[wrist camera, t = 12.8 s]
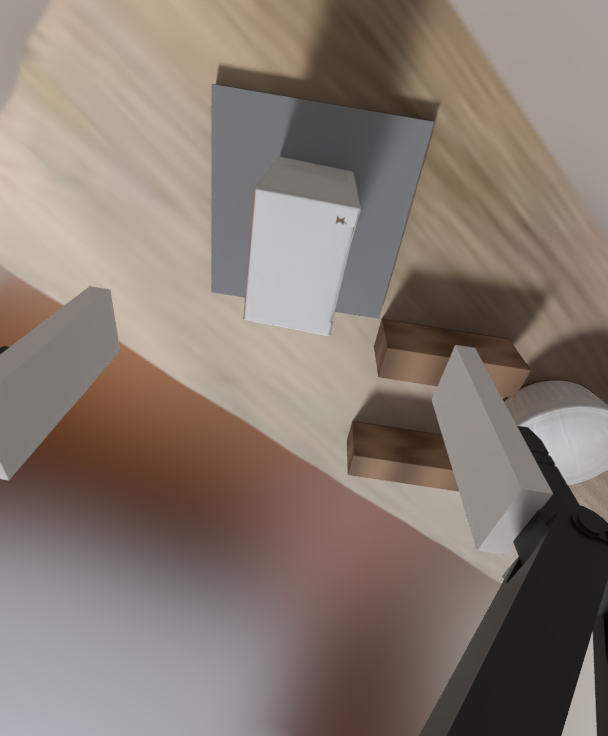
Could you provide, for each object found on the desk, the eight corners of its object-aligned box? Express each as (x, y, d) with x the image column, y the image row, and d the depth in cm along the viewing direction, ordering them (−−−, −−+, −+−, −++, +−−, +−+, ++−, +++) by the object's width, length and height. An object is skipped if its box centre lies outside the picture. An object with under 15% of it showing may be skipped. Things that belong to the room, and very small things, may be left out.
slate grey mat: (431, 121, 27) (434, 121, 26) (377, 313, 36) (378, 318, 35) (215, 84, 27) (211, 84, 26) (214, 287, 35) (211, 292, 35)
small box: (279, 154, 28) (253, 182, 19) (355, 170, 28) (363, 204, 20) (265, 261, 33) (240, 322, 24) (331, 274, 33) (329, 339, 24)
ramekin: (461, 418, 42) (475, 455, 38) (555, 349, 37) (584, 384, 32) (527, 464, 46) (547, 502, 41) (623, 407, 40) (657, 445, 36)
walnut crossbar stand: (509, 339, 36) (531, 370, 32) (448, 455, 45) (459, 491, 41) (381, 319, 36) (387, 348, 32) (346, 440, 45) (347, 474, 41)
